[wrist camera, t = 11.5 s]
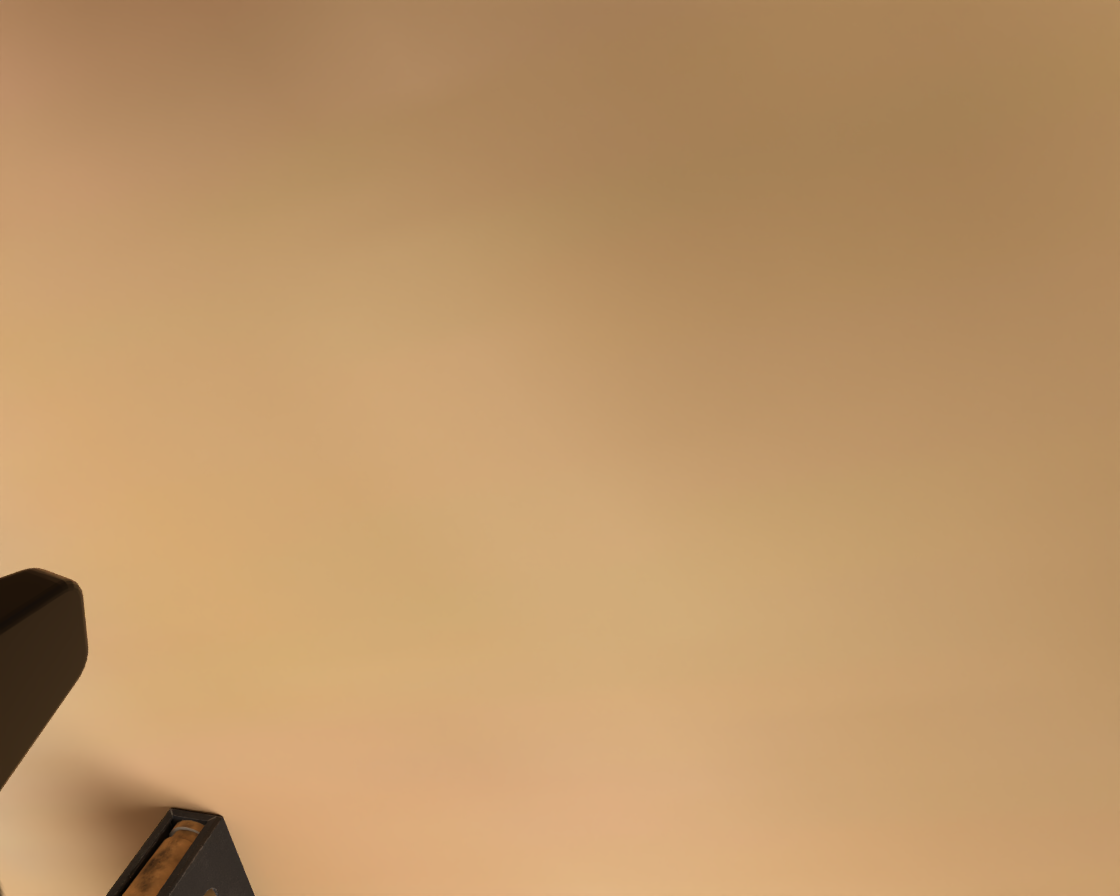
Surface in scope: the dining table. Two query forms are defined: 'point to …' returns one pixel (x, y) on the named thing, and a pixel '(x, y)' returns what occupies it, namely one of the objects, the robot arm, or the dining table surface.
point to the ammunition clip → (185, 860)
